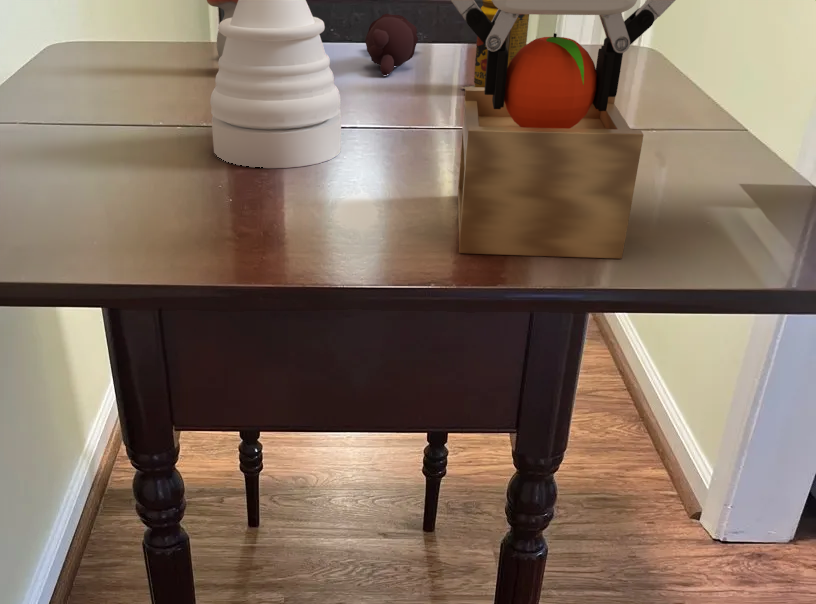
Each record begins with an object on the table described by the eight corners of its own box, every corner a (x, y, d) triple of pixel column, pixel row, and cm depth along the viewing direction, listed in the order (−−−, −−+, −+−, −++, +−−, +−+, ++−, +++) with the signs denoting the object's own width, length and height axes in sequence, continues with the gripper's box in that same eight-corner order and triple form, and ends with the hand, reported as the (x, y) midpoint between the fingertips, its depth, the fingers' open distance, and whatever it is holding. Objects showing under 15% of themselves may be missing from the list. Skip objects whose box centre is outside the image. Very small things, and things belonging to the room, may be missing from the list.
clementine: (616, 144, 68) (632, 40, 64) (533, 153, 66) (545, 47, 62) (559, 119, 75) (571, 23, 71) (483, 127, 73) (490, 29, 69)
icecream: (370, 8, 131) (346, 35, 120) (420, -5, 129) (401, 21, 117) (381, 58, 135) (360, 89, 124) (430, 46, 133) (413, 77, 121)
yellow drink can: (458, 89, 116) (465, -18, 110) (506, 80, 120) (515, -23, 114) (500, 99, 111) (510, -12, 105) (548, 89, 116) (560, -18, 109)
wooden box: (597, 199, 80) (613, 89, 75) (622, 259, 68) (644, 134, 63) (457, 195, 81) (465, 87, 76) (459, 253, 69) (467, 130, 64)
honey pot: (240, 175, 86) (226, -44, 76) (197, 142, 96) (179, -56, 86) (363, 157, 91) (365, -51, 81) (310, 128, 100) (306, -61, 90)
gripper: (446, -182, 57) (431, 116, 67) (734, -185, 56) (676, 120, 65) (446, -179, 63) (432, 93, 73) (706, -182, 62) (656, 97, 72)
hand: (548, 104), depth 69 cm, fingers closed on clementine, 6 cm apart
